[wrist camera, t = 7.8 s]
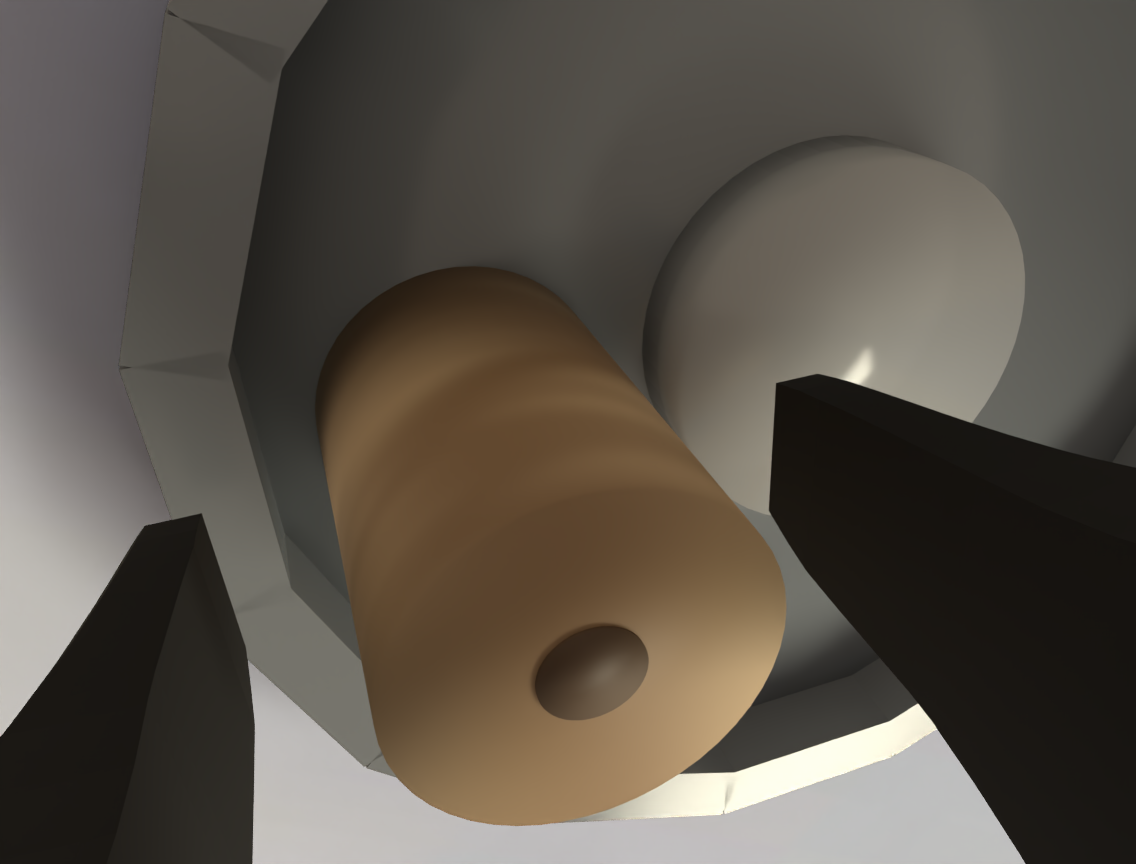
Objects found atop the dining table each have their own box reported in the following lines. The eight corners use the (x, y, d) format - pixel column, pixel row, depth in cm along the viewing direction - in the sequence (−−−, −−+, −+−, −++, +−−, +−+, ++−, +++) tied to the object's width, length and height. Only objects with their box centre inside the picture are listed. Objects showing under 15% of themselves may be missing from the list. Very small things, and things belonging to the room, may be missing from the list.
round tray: (1473, -490, 13) (1660, -544, 12) (1124, 601, 24) (1195, 656, 22) (-145, -523, 9) (-234, -624, 7) (313, 859, 19) (323, 956, 17)
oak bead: (581, 235, 14) (790, 436, 9) (610, 479, 16) (787, 747, 11) (278, 307, 13) (319, 575, 8) (355, 554, 15) (425, 881, 10)
